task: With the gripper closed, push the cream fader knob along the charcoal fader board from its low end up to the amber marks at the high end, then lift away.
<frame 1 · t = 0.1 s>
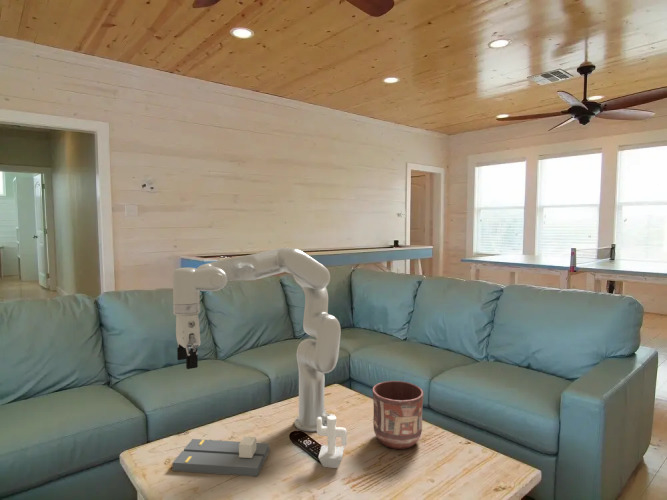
hand: (187, 363, 128), 31 cm above the table, tool pointing down, fingers open, 9 cm apart
pottery: (396, 441, 144), on the table
fader knob: (247, 448, 130), point 4 cm above the table, slide at -8.0 cm
figurine: (331, 464, 130), on the table
fader board: (223, 460, 131), on the table
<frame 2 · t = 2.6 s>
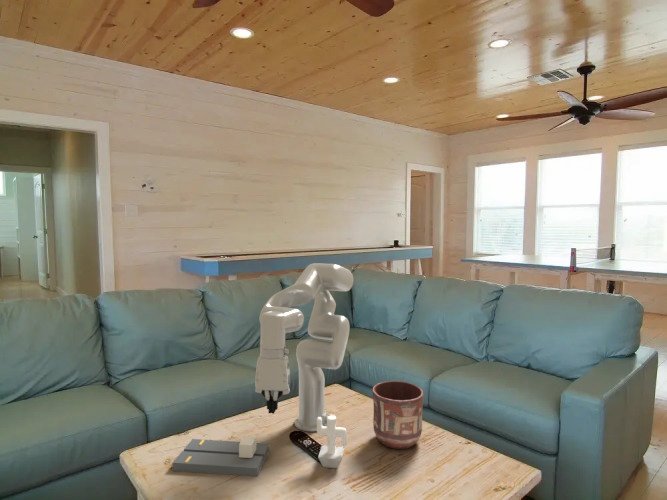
hand: (272, 411, 128), 17 cm above the table, tool pointing down, fingers closed
nothing on the table moved.
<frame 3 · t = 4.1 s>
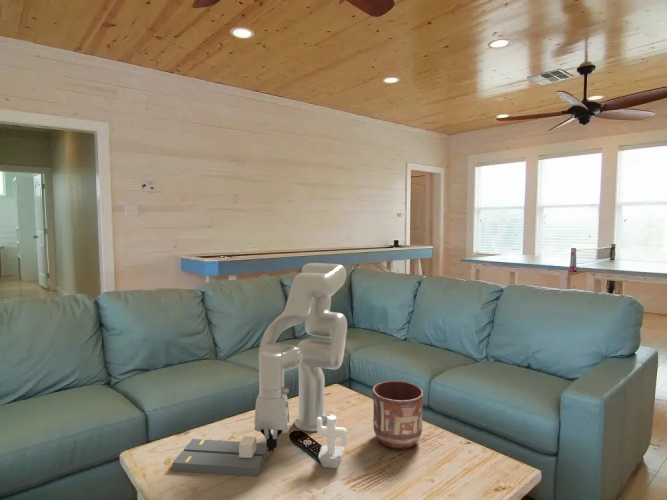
hand: (271, 449, 129), 5 cm above the table, tool pointing down, fingers closed
nothing on the table moved.
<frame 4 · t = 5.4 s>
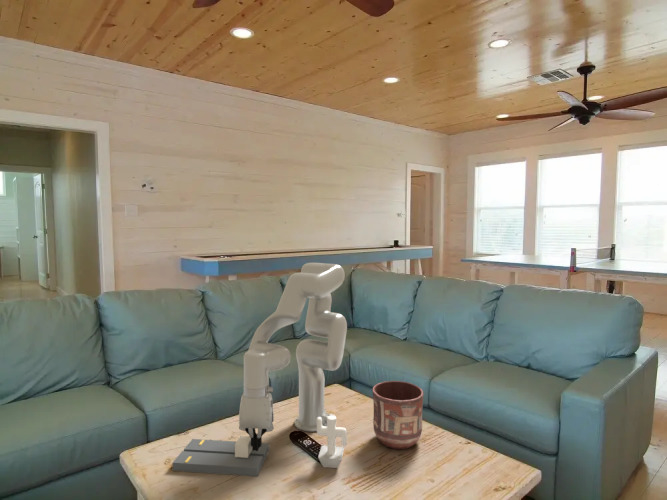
hand: (256, 448, 130), 5 cm above the table, tool pointing down, fingers closed
fader knob: (243, 448, 130), point 4 cm above the table, slide at -6.7 cm, touching gripper
everything else where it was.
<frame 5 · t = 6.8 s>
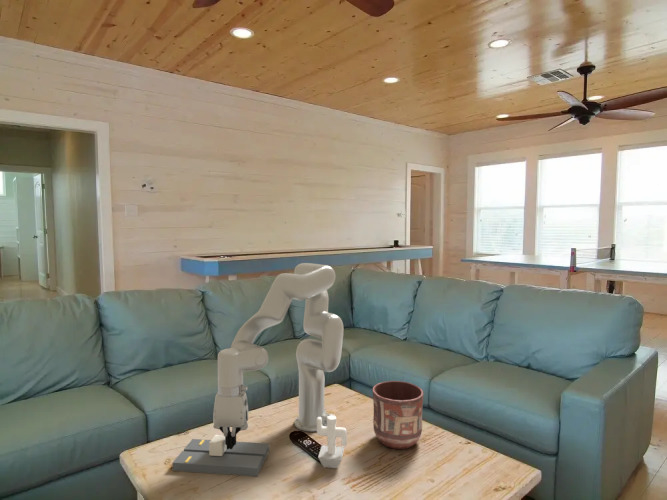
hand: (230, 446, 131), 5 cm above the table, tool pointing down, fingers closed
fader knob: (218, 446, 131), point 4 cm above the table, slide at 1.4 cm, touching gripper
everything else where it was.
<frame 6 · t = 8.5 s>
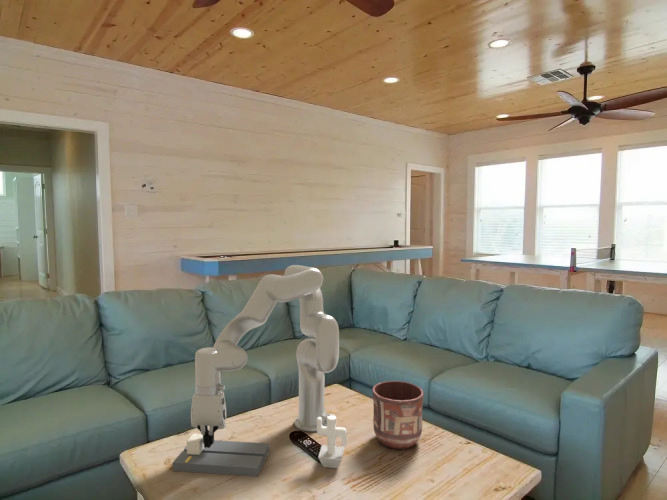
hand: (208, 445, 131), 5 cm above the table, tool pointing down, fingers closed
fader knob: (196, 445, 132), point 4 cm above the table, slide at 8.6 cm, touching gripper
everything else where it was.
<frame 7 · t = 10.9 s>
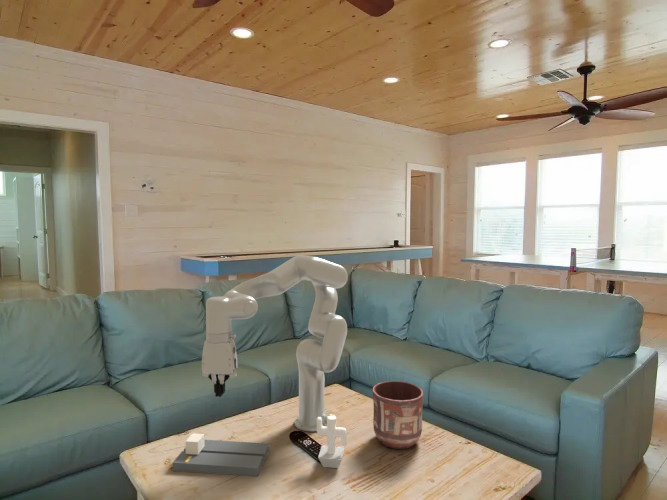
hand: (219, 394, 130), 21 cm above the table, tool pointing down, fingers closed
fader knob: (195, 445, 132), point 4 cm above the table, slide at 9.0 cm
everything else where it was.
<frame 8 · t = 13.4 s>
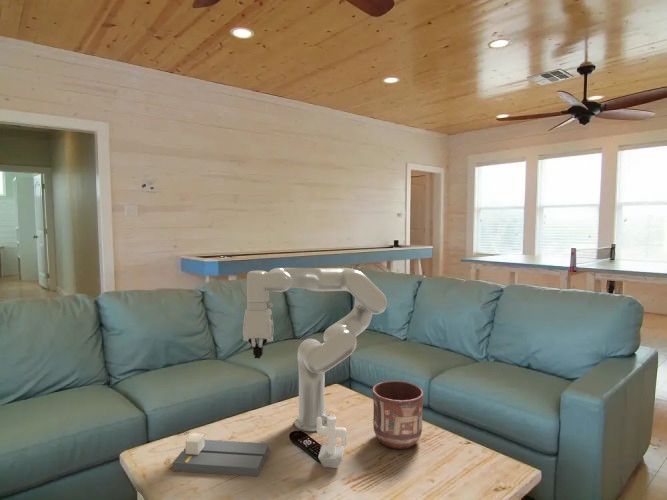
hand: (258, 357, 148), 27 cm above the table, tool pointing down, fingers closed
nothing on the table moved.
at the end: fader knob slide at 9.0 cm; the gripper is holding nothing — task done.
